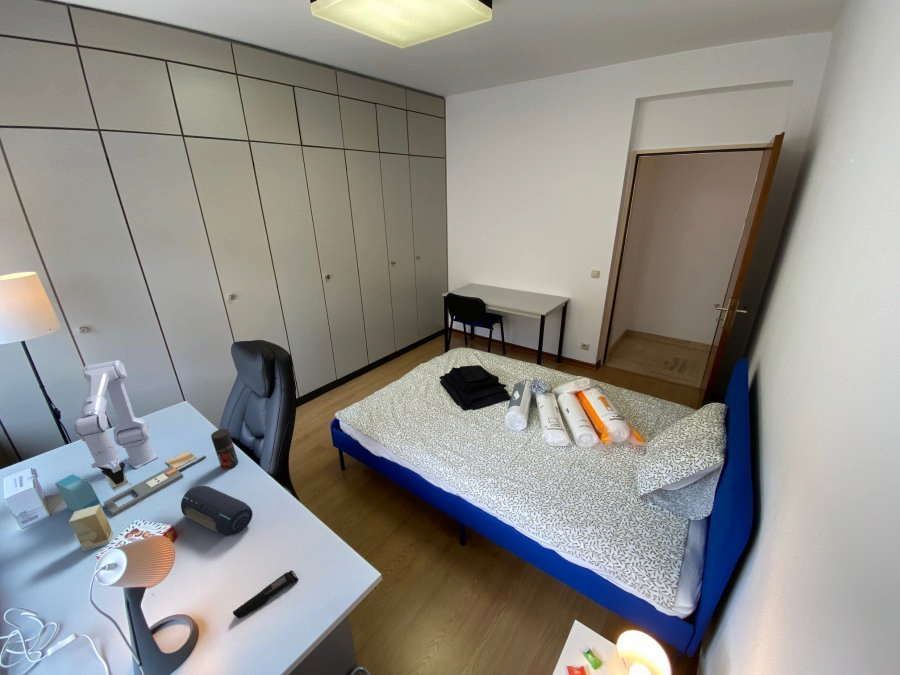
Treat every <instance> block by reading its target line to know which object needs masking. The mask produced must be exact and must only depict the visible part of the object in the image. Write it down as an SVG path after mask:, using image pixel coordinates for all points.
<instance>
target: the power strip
mask: <svg viewBox="0 0 900 675" xmlns="http://www.w3.org/2000/svg"><path fill="white" fill-rule="evenodd" d="M206 458H207V456H206V455H203V456H201V457H200V458H198V459H195V460H193V461H191V463H190V462H189V463H187V464H186V465H184V466H182V467H180V468H177V469H175V468H174V467H173V466H169V467H167V468H165V469H162V470H160V471H159V472H158V473H156V474H154V475H152V476H150V477H148V478H146V479H144V480H142V481H140V482H139V483H137V484H135V485H133V486H131V487H129V488H127V489H126V490H123V491H122V492H120V493H118V494H115V495H114V496H112V497H110V498H108V499H107V500H105V501H103V505H104V506H105V508H107V510H108V511H109V513H111V515H112V516H114V517H116V516H117V515H119V514H121V513H123V512H124V511H126V510H129V509H131V507H134V506H135V505H137V504H138V503H141V502H143V501H144V500H145V499H147V498H150V497H151V496H153V495H155V494H157V493H158V492H160V491H161V490H164V489H166V488H167V487H169V486H170V485H172V484H174V483H176V482H178V481H179V480H181V479H183V478H184V474H183V473H182V471H184V470H186V469H188V468H191V467H192V466H194V465H196V464H197V463H199V462H201V461H203V460H204V459H206ZM133 493H134V494H136V495H137V496H136V497H135V498H133V499H131V500H129V501H127V502H125V503H123V504H122V505H119V506H118V505H117V504H116V502H118V501H120V500H122V499H124V498H126V497H127V496H129V495H131V494H133Z"/></svg>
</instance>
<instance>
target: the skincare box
mask: <svg viewBox="0 0 900 675" xmlns="http://www.w3.org/2000/svg"><path fill="white" fill-rule="evenodd" d="M101 505H102V504H101ZM101 505H100V504H99V505H96V506H93V507H88V508H85V509H82V510H79V511H75V512H74V511H73V513H72V515H71V516H70V519H69V521H68V522H69V525H70V526H71V529H72V530H73V533H74V534H75V537H76V539H77V540H78V543H79V544H80V546H81V548H82V550H83V552H86V551H90V550H92V549H93V550H94V549H95V548H99V547H102V546H105V545H108V544H110V542H111V540H112V539H113V536H114V531H113V529H112V526H111V525H110V522H109V520H108V518H107V516H106V514H105V511H104V510H103V506H102V507H101Z"/></svg>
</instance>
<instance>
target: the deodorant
mask: <svg viewBox="0 0 900 675" xmlns="http://www.w3.org/2000/svg"><path fill="white" fill-rule="evenodd" d="M210 437H211V440H212V444H213V447H214V451H215V453H216V456H217V459H218V462H219V464H220V467H221V470H222V471H228V470H232V469H234V468H235V467H236V466H238V465H239V459H238V455H237V453H236V449H235V447H234V444H233V440H232V439H233V438H232V436H231V434H230V431H229V429H228V428H221V429H217V430H215V431H214V432H212V433H211V435H210Z"/></svg>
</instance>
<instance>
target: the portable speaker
mask: <svg viewBox="0 0 900 675" xmlns="http://www.w3.org/2000/svg"><path fill="white" fill-rule="evenodd" d="M180 510H181V512H182V514H183V516H185V517H186V518H189V519H191V520H192V521H194V522H196V523H198V524H200V525H202V526H204V527H206V528H208V529H210V530H212V531H213V532H217V533H218V534H219V535H222V536H225V537H229V536H235V535H237V534H239V533H241V532H242V531H244V530H245V529H246V528H247V527H248V525H250V523H251V521H252V518H253V516H254V515H253V510H252V508H251V506H249V505H248V504H247V503H246V502H244V501H242V500H240V499H237V498H235V497H233V496H230V495H228V494H226V493H225V492H222V491H220V490H217V489H216V488H213V487H210V486H208V485H195V486H193V487H191V488H189V489H188V490H187V491H186V492H185V493H184V495H183V496H182V498H181V502H180Z"/></svg>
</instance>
